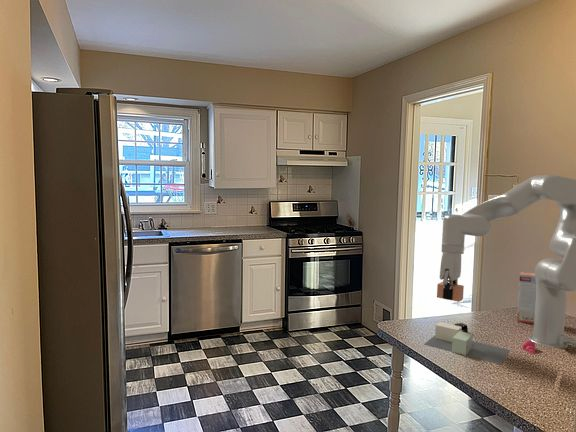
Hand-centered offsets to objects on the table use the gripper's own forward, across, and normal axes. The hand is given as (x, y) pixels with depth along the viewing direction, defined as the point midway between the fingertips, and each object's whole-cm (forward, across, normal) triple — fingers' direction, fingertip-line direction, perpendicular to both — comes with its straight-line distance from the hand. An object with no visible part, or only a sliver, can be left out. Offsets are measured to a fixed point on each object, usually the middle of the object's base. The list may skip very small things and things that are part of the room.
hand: (449, 297), depth 154 cm
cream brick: (+16, 0, 0) cm, 16 cm away
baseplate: (+17, +3, +8) cm, 19 cm away
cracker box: (+17, -46, +22) cm, 54 cm away
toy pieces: (+17, -5, +27) cm, 33 cm away
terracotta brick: (0, 0, 0) cm, 0 cm away
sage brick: (+16, +7, +7) cm, 19 cm away
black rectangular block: (+18, -11, +2) cm, 21 cm away
